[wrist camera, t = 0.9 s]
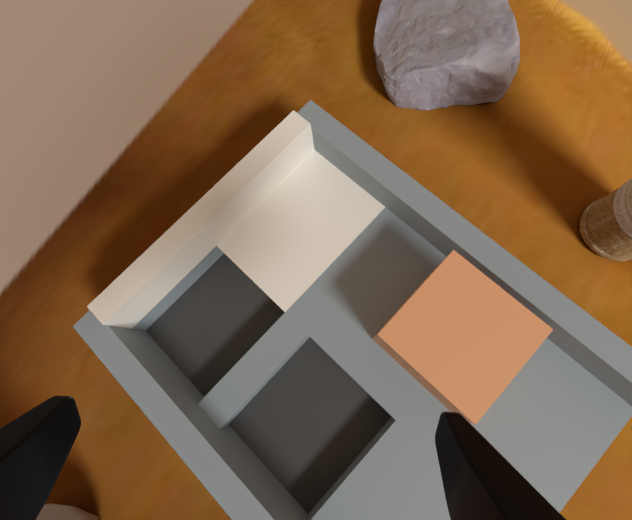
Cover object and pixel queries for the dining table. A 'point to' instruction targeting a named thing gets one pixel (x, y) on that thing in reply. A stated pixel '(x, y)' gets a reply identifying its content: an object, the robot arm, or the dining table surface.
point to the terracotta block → (462, 337)
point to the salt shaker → (64, 513)
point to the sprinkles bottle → (610, 224)
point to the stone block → (445, 51)
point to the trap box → (336, 340)
